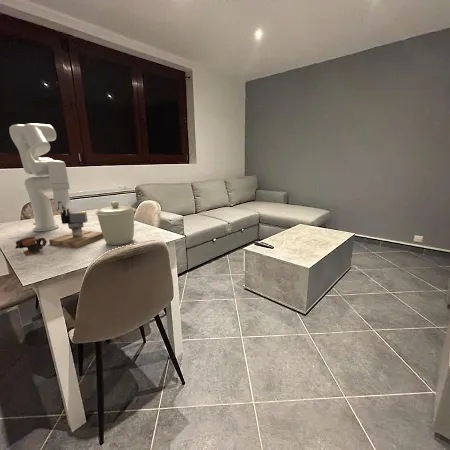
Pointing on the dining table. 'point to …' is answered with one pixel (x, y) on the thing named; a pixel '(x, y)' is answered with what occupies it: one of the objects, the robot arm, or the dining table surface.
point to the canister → (116, 223)
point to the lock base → (76, 238)
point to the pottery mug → (31, 245)
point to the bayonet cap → (77, 219)
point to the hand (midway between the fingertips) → (66, 222)
